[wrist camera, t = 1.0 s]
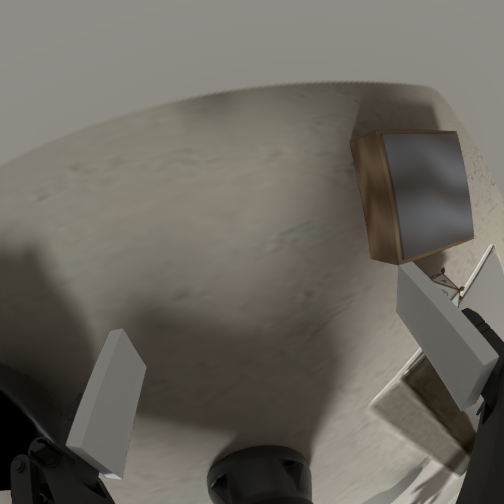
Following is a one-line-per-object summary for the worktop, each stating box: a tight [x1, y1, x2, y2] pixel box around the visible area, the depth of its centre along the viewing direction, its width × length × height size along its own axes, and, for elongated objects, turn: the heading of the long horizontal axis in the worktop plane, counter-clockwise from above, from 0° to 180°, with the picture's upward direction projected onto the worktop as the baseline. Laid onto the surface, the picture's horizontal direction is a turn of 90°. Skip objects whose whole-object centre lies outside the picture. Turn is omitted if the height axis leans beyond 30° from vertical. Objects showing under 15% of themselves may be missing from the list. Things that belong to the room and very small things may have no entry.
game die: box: [428, 267, 465, 309], centre depth 32 cm, size 9×8×10 cm
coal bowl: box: [0, 363, 65, 501], centre depth 18 cm, size 20×20×19 cm
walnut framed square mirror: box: [350, 130, 474, 265], centre depth 31 cm, size 14×14×6 cm
